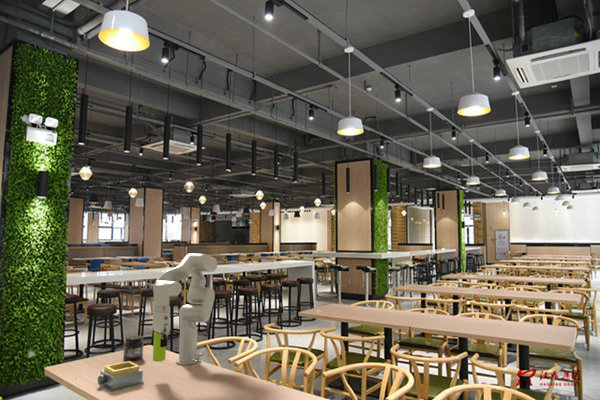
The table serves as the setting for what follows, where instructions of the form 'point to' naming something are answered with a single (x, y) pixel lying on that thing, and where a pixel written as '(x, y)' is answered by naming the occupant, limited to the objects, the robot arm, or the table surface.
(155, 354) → the soap dispenser
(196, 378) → the table surface
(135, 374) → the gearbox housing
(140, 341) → the supplement container
